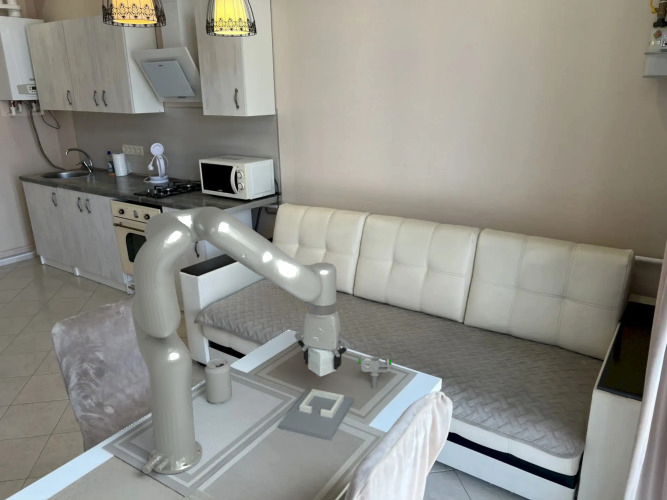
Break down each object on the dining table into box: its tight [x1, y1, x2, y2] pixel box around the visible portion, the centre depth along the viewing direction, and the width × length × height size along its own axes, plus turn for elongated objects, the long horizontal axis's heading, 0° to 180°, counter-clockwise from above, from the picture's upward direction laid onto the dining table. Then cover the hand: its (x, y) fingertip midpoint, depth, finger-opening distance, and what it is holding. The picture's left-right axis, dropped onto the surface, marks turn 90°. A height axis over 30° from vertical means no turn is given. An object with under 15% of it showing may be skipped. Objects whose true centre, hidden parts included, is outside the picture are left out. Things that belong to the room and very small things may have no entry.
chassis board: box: [278, 388, 355, 442], centre depth 140 cm, size 20×15×3 cm
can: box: [204, 357, 233, 404], centre depth 146 cm, size 8×8×12 cm
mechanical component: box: [357, 356, 392, 390], centre depth 153 cm, size 3×10×10 cm, turn 89°
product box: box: [307, 347, 337, 377], centre depth 139 cm, size 6×6×7 cm
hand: (322, 364), depth 139 cm, fingers closed on product box, 8 cm apart
